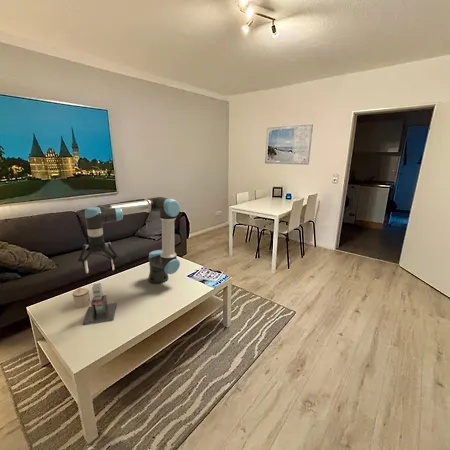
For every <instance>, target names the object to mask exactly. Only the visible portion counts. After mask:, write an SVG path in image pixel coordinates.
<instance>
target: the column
mask: <svg viewBox="0 0 450 450" xmlns="http://www.w3.org/2000/svg"><path fill="white" fill-rule="evenodd" d="M91 290H92V293H93V294H92V296H93V297H94V302H101V301H103V287H102V282H101V283H100V282H99V283H93V285H92V287H91ZM95 309H96V314H103V313H104V311H103V305H102V304H95Z"/></svg>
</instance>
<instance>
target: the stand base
mask: <svg viewBox="0 0 450 450" xmlns="http://www.w3.org/2000/svg"><path fill="white" fill-rule="evenodd" d="M91 299H92V300H91V301H90V306H88V308H87V311H86V313H85V316H84V318H83V321H82V325H83V326H85V325H92V324H96V323H97V324H98V323H105V322H109V321H114V319H115V314H116V309H117V306H118V304H117V302H113V303H108V299H107V295H106V294H104V295H103V301H101V302H94V296H93V297H92V298H91ZM95 304H102V305H103V311H104V313H103V314H96V309H95Z"/></svg>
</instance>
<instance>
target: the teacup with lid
mask: <svg viewBox="0 0 450 450" xmlns="http://www.w3.org/2000/svg"><path fill="white" fill-rule="evenodd" d="M72 297H73V302H74V308H78V309H80V308H81V309H82V308H85V307H88V306H89V304H90V305H91V299H90V298H91V297H90V290H89V288H86V287H79V288H78V289H75V290H74V291H73V292H72Z"/></svg>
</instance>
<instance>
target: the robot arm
mask: <svg viewBox="0 0 450 450" xmlns="http://www.w3.org/2000/svg"><path fill="white" fill-rule="evenodd" d="M180 211H181V206H180V203H179V201H177V200H176V199H173V198H169V197H162V196H158V197H157V196H155V197H150V198H145V199H144V200H138V201H130V202H122V203H113V204H104V205H102V204H96V205H94V206H90V207H86V208H85V209H84V218H85V224H86V231H87V236H88V237H87V239H88V244H86V243H84V244H83V245H82V250H81V252H80V255H79V257H78V260H77V262H79V263H80V262H81V263H82V267H83V268H85V273H86V274H89V266H88V260H87V259H88V258H89V257H90V255H91V254H92V253H93V252H94V253H97V252H100V253H101V252H103V253H105V254H106V255H107V256H108V257H110V261H111V267H112V271H114V270H115V265H116V263H117V261H116V259H117V258H119V254H118V252H117V251H116V249H115V248H114V247H113V246H112V243H111V241H108V242H105V238H104V237H105V236H104V228H103V224H106V223H107V224H108V223H115V222H118V221H122V220H123V218H124V215H130V214H136V213H137V214H138V213H143V212H146V213H157V214H159V219H160V220H161V243H162V244H161V247H162V248H161V249H157V250H152V251H150V252H149V254H148V261H149V263H148V264H149V274H148V277H147V280H148V282H149V283H150V284H152V285H153V284H154V285H159V284H163V282H164V283H165V281H166V282H167V281H168V280H169V275H174V274H175V273H177V271H178V270H179V268H180V266H181V263H180V260H178V259H177V257H178V256H177V253H176V252H175V220H176V219H177V216H178V215H179V213H180ZM106 247H107V248H108V249H109V250H108V249H107V248H106ZM88 248H89V249H90V250H89V251H88V252H87V254H86V255H85V252H86V250H87V249H88ZM84 255H85V256H84ZM83 256H84V257H83Z"/></svg>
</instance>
